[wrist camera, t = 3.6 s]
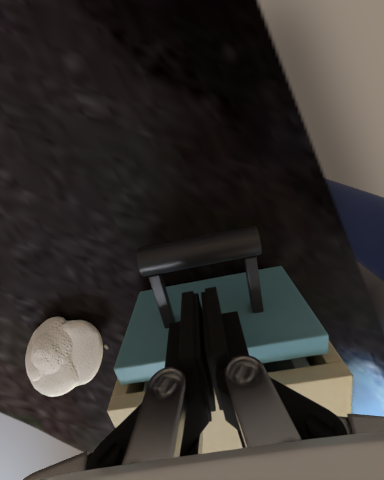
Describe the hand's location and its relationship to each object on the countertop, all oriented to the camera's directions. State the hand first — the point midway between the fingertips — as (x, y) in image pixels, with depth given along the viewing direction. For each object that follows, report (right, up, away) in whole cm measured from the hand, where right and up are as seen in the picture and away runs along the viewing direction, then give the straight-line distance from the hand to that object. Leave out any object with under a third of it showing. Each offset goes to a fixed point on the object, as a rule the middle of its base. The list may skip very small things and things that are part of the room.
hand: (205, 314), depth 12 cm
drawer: (+1, -3, +8) cm, 8 cm away
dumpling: (-10, -4, +9) cm, 15 cm away
